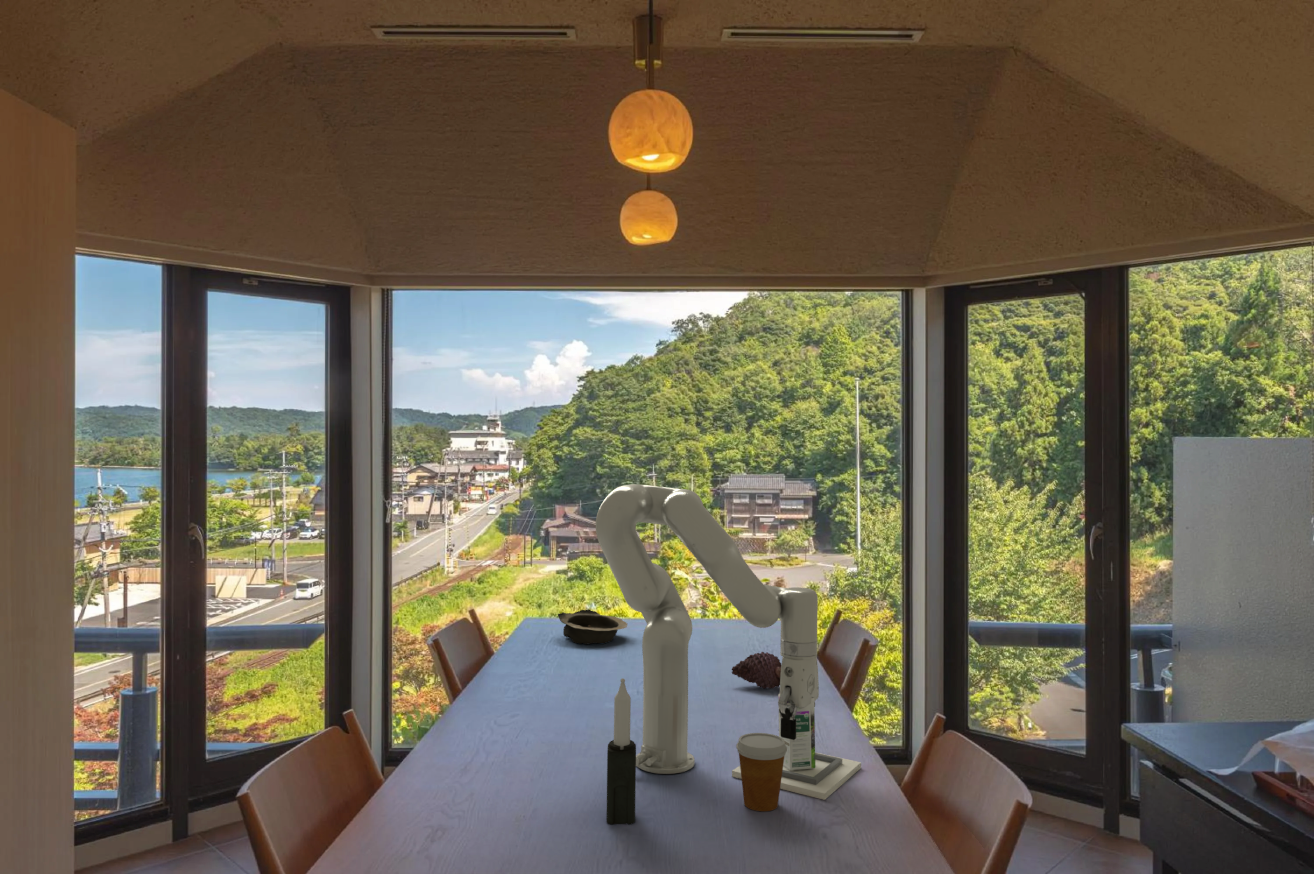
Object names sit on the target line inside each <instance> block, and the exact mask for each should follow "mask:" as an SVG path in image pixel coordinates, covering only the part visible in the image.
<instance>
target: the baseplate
mask: <svg viewBox="0 0 1314 874" xmlns="http://www.w3.org/2000/svg"><path fill="white" fill-rule="evenodd" d="M861 769H862V762H861V761H856V760H854V759H853V760H852V759H847V758H843V757H839V756H838V757H837V756H833V755H828V754H825V753H820V752H816V751H815V769H801V770H793V771H790V770H789V769H787V768H786V767H785V766H783V770H782V778H781V786H780V790H784V791H788V792H793V793H794V794H795V793H796V794H800V795H804V796H808V797H810V798H811V797H812V798H816V799H820V800H824V801H825V800H827V798H829V797H830V796H831V795H832V794H833V793H834V792H836V790H838V789H839V788H840V787H841V786H843V784H845V783H846V782H847V781H848V780H849V779H850V778H852V777H853V776H854V775H856V773H857V772H858V771H860V770H861ZM731 777H732V778H737V779H740V780H742V778H741V769H740V765H738V766H737V767H735V768H734V769H732V770H731Z"/></svg>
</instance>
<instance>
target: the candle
mask: <svg viewBox="0 0 1314 874" xmlns="http://www.w3.org/2000/svg"><path fill="white" fill-rule="evenodd" d="M625 682H626V679H625V678H621V679H620V685H619V687H618V690H617V693H616V694H615V696H614V700H613V703H614V706H613V707H614V709H613V711H614V715H613V739H612V740H610V741H609V743H608V744H607V753H606V754H607V759H606V761H607V762H606V814H605V815H606V816H605V817H606V819H605V820H606V821H605V822H606V823H607V824H609V825H634V824H635V822H636V781H637V779H636V777H637V775H636V773H637V771H636V770H637V766H636V755H637V744H636V743H635V741H633V740H631V703H632V699H631V695H630V694H629V692H628V690H627V686H626V683H625Z"/></svg>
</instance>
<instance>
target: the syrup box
mask: <svg viewBox="0 0 1314 874" xmlns="http://www.w3.org/2000/svg"><path fill="white" fill-rule="evenodd" d="M777 696H778V700H779V699H780V693H778V695H777ZM788 703H792V704H794V703H793V702H792V701H790V700H788ZM777 705H778V704H777ZM778 707H779V705H778ZM787 708H788V707H787ZM814 708H815V707H814V697H812V699H811V704H809V705H808V706H806V707H804V708H802V709H801V708H799V707H797V711H796V715H795V718H794V719H796V739H795V740H792V739H787V738H783V737H781V718H780V712H779V711H778V736H779V737H781V738H783V739H784V741H785V746H786V747H787V752H786V754H785V756H784V763H783V766H785V767H786V768H787V769H789V770H790V771H793V770H801V769H815V752H816V728H815V727H816V725H815V724H816V723H815V720H816V717H815V709H814ZM789 710H790V712H791V711H792V708H789Z"/></svg>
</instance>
